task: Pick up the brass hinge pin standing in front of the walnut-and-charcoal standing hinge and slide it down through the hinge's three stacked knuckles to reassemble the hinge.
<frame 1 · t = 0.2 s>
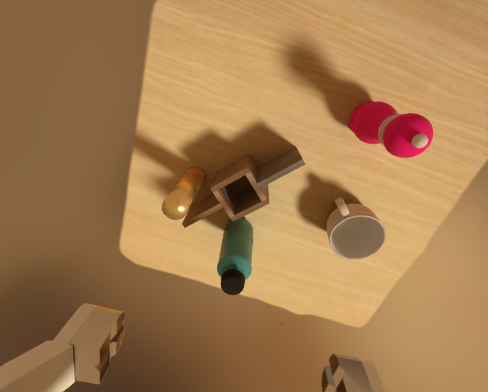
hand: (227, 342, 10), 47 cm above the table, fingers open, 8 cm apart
brass pin: (195, 176, 58), on the table
pepper mill: (365, 119, 52), on the table
beverage bottle: (239, 225, 63), on the table
teacup: (344, 213, 60), on the table
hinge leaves: (242, 179, 58), on the table
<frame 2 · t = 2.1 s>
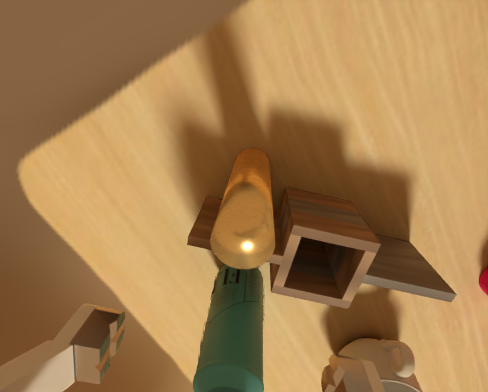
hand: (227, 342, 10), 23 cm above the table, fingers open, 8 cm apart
brass pin: (252, 165, 31), on the table
beverage bottle: (241, 270, 38), on the table
teacup: (368, 344, 42), on the table
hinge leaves: (308, 222, 34), on the table
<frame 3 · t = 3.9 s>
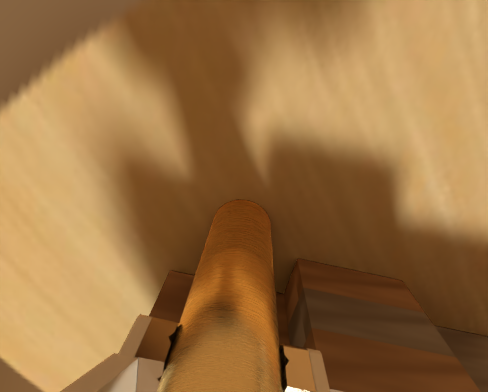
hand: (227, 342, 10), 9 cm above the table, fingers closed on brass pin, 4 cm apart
brass pin: (241, 225, 19), on the table, touching gripper
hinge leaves: (331, 309, 21), on the table
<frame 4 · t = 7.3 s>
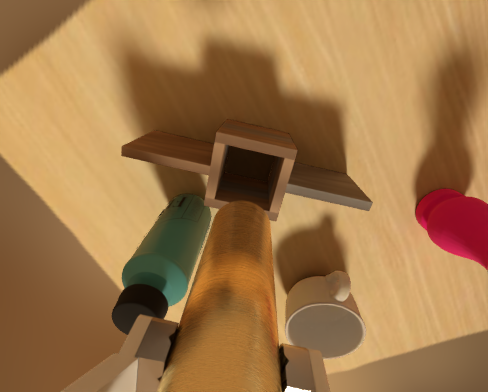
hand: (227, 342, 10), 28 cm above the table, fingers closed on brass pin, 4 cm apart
brass pin: (241, 226, 19), point 18 cm above the table, touching gripper
pepper mill: (438, 208, 37), on the table
beverage bottle: (192, 208, 40), on the table
teacup: (319, 284, 44), on the table
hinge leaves: (251, 156, 36), on the table
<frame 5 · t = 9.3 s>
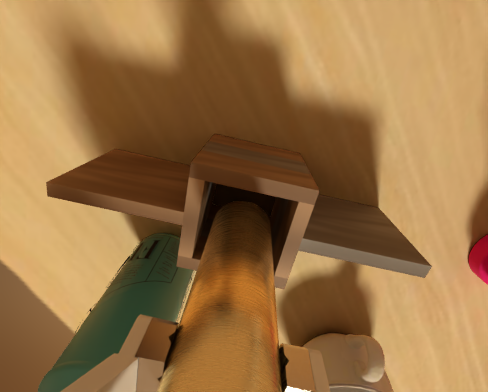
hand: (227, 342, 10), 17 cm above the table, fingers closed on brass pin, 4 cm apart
brass pin: (241, 226, 19), point 8 cm above the table, touching gripper
beverage bottle: (171, 248, 30), on the table
teacup: (336, 341, 34), on the table
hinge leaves: (248, 183, 26), on the table
when the fingers open (11 cm above the table, at t = 10.9 s): brass pin drops 2 cm, resting in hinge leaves.
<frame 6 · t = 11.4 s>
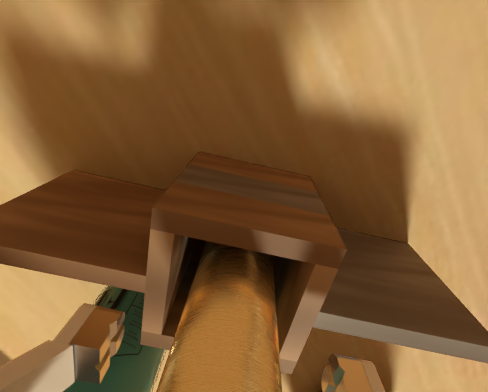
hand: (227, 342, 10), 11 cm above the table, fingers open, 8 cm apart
brass pin: (243, 213, 21), resting in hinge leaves
beverage bottle: (149, 289, 24), on the table
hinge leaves: (242, 213, 21), on the table
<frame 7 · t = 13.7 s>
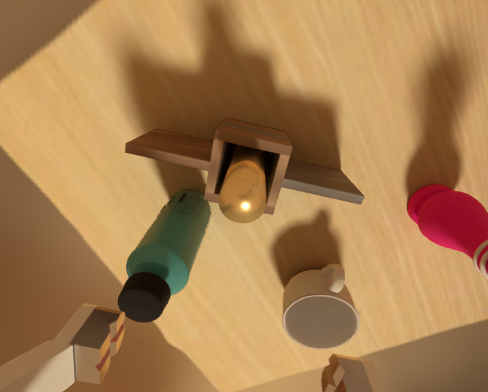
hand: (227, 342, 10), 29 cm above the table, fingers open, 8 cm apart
brass pin: (249, 153, 37), resting in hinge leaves
pepper mill: (428, 203, 39), on the table
beverage bottle: (192, 204, 41), on the table
teacup: (315, 278, 45), on the table
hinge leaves: (248, 153, 37), on the table
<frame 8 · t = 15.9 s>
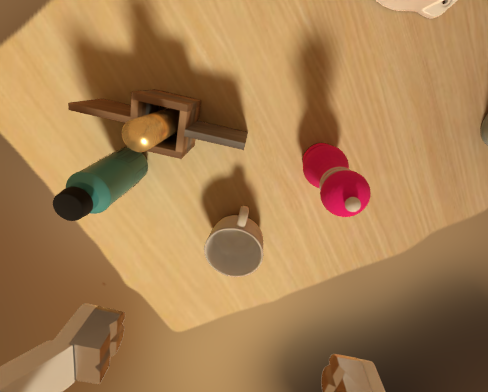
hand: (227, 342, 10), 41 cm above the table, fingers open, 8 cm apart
brass pin: (175, 118, 48), resting in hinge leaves
pepper mill: (319, 159, 49), on the table
beverage bottle: (136, 161, 51), on the table
teacup: (239, 225, 56), on the table
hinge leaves: (175, 118, 48), on the table
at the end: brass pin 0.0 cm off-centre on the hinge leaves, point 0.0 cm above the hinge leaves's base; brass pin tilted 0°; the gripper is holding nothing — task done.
